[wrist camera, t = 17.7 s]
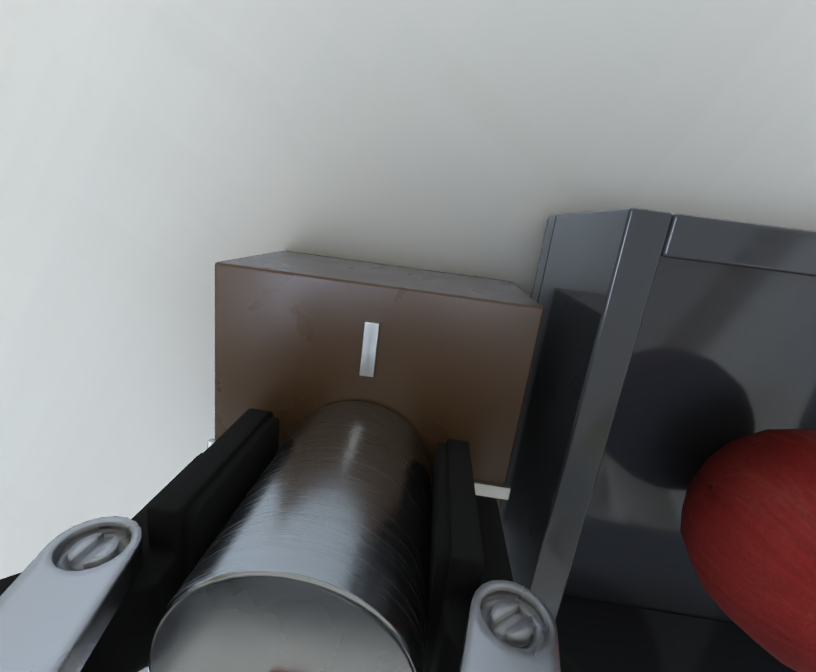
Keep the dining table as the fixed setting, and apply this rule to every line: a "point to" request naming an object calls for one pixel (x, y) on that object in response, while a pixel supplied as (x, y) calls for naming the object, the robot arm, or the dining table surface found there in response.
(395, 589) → the metal rotary knob
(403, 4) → the dining table surface
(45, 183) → the dining table surface
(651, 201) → the dining table surface
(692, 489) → the red round fruit
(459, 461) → the robot arm
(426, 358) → the block
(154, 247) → the dining table surface
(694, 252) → the dark grey open box
